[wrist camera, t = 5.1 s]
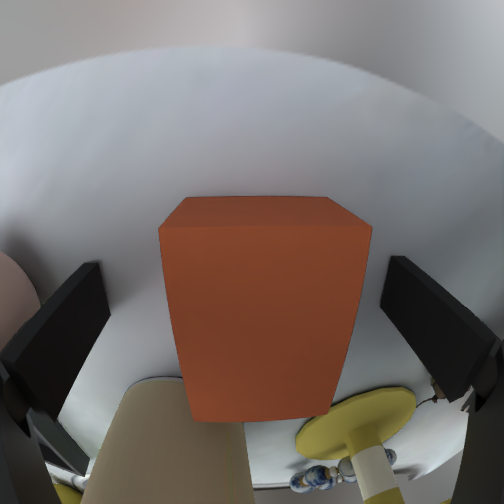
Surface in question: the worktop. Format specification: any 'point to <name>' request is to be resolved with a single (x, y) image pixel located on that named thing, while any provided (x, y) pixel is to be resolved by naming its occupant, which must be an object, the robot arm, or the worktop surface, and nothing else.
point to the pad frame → (58, 446)
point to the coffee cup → (168, 453)
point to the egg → (14, 299)
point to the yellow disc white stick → (362, 439)
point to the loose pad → (262, 302)
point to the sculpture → (68, 494)
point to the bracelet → (329, 475)
